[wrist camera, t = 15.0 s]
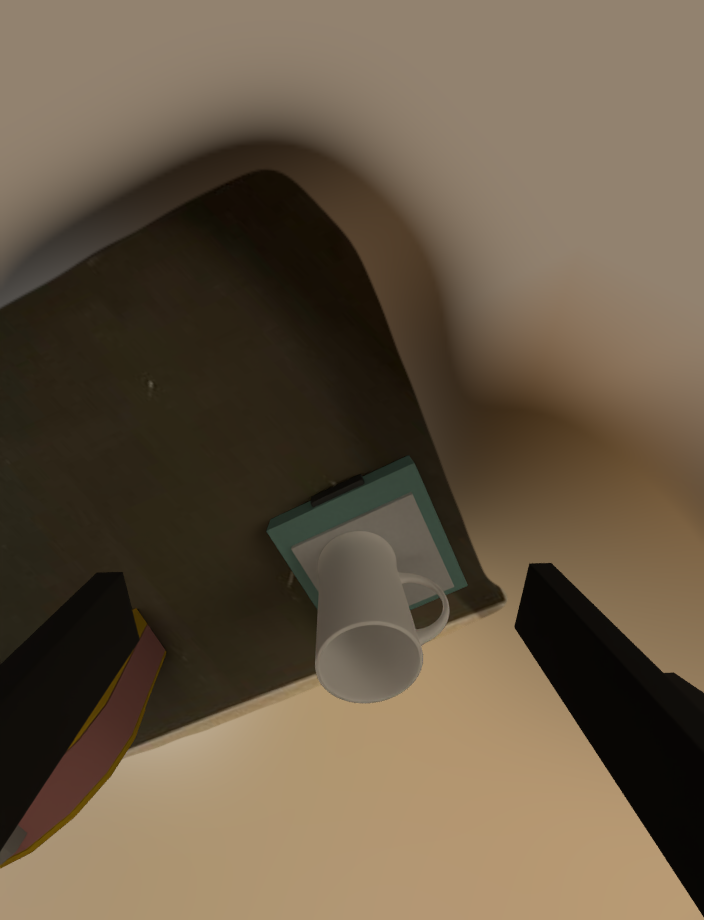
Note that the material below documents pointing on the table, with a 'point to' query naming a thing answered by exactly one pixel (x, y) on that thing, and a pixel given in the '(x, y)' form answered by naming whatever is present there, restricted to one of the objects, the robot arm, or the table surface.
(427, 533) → the scale
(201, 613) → the table surface
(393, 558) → the mug
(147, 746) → the table surface
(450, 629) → the table surface
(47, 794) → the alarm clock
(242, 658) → the table surface
